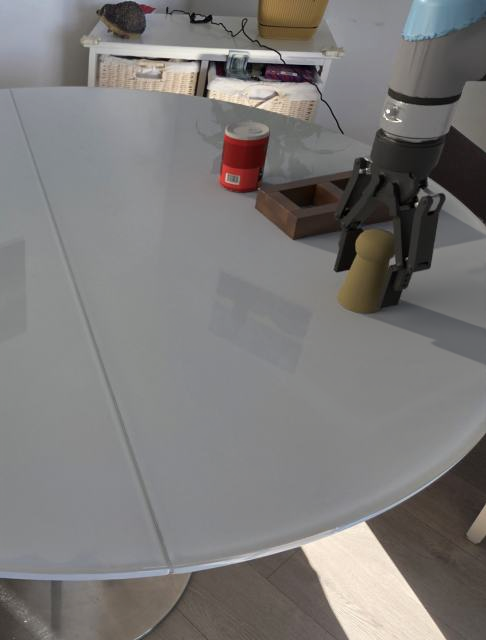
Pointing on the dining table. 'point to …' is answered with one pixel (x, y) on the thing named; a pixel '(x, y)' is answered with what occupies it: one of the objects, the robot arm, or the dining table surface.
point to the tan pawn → (367, 271)
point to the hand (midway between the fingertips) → (364, 286)
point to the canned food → (244, 156)
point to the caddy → (319, 191)
